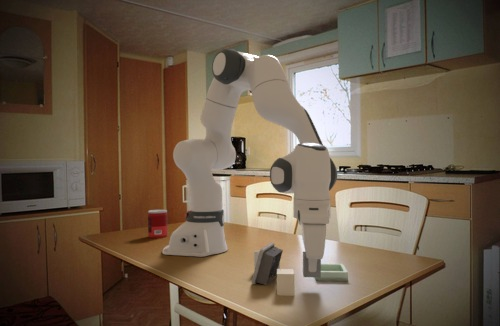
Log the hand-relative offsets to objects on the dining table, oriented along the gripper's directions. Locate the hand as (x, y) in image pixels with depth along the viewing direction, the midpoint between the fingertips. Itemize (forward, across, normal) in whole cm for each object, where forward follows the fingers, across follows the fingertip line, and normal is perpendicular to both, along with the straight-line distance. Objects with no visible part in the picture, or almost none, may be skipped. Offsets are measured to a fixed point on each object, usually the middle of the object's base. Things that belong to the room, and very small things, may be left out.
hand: (311, 267), depth 90 cm
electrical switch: (+6, -6, -11) cm, 14 cm away
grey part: (+2, 0, 0) cm, 2 cm away
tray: (+5, -11, +6) cm, 13 cm away
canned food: (+8, -62, -60) cm, 86 cm away
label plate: (+6, -13, -11) cm, 18 cm away
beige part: (+5, +2, -6) cm, 8 cm away
